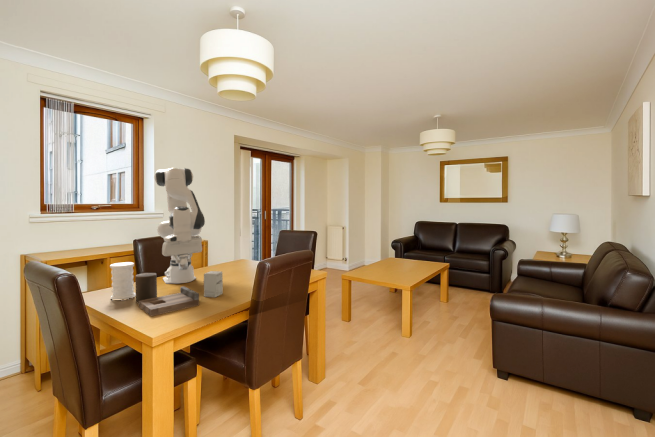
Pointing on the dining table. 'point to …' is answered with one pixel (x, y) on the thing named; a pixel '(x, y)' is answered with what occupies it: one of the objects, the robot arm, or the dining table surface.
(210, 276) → the supplement box
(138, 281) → the pillar candle
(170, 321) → the dining table surface
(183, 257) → the frosted bulb shape
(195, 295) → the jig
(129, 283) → the decorative container
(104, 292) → the dining table surface
